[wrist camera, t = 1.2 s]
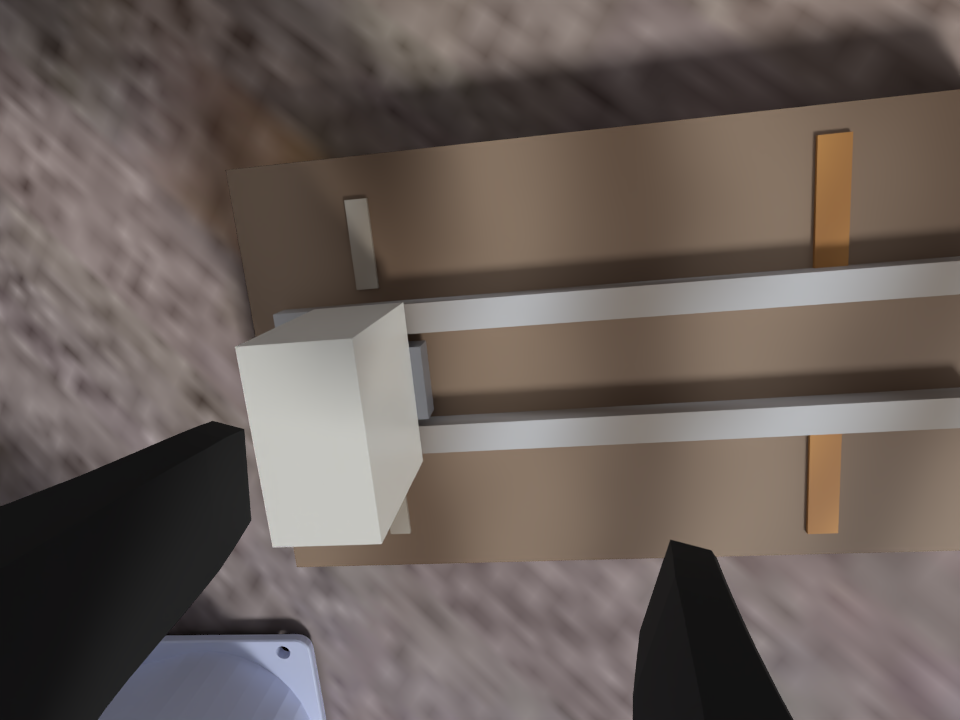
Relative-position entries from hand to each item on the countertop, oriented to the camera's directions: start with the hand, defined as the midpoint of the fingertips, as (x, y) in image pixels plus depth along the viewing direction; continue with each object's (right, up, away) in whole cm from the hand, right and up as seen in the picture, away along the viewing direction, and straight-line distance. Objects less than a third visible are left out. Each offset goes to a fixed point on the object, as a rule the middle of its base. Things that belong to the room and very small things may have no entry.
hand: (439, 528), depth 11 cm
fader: (-2, +2, +8) cm, 8 cm away
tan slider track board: (+4, +3, +9) cm, 11 cm away
